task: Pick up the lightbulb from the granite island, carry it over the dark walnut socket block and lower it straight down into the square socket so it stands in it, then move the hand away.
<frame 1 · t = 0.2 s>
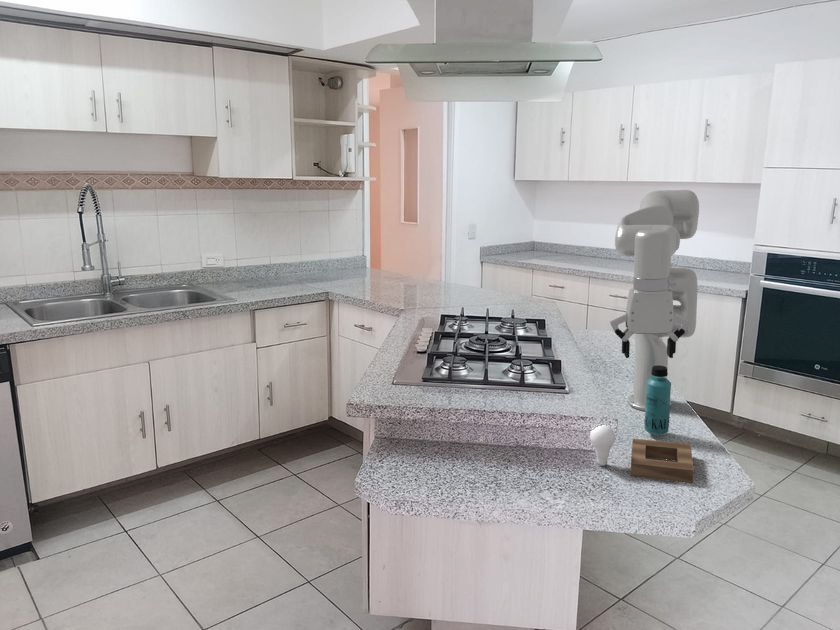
hand: (648, 356, 148), 30 cm above the worktop, tool pointing down, fingers open, 9 cm apart
beverage bottle: (656, 435, 176), on the worktop
lightbulb: (602, 466, 161), on the worktop
socket block: (660, 466, 159), on the worktop
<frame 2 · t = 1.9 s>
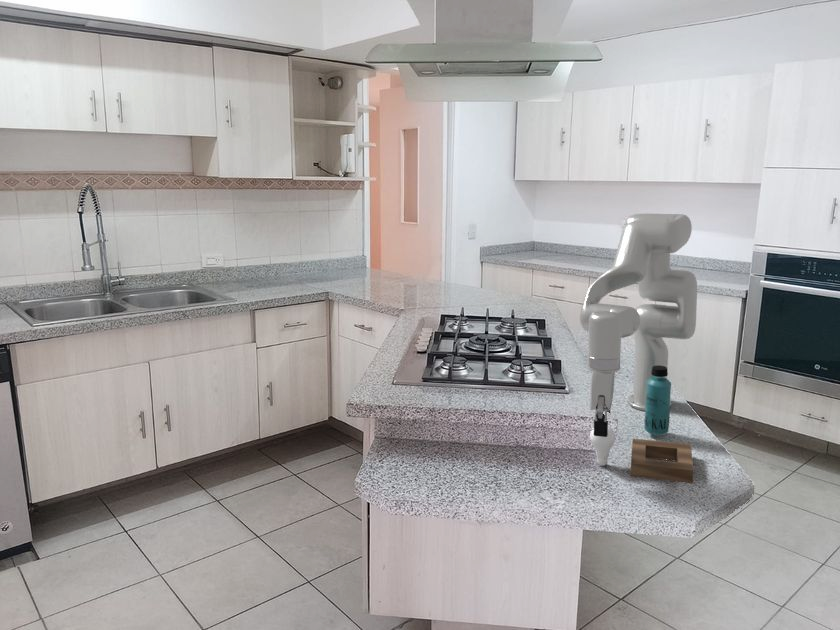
hand: (602, 427, 158), 11 cm above the worktop, tool pointing down, fingers open, 9 cm apart
nothing on the worktop moved.
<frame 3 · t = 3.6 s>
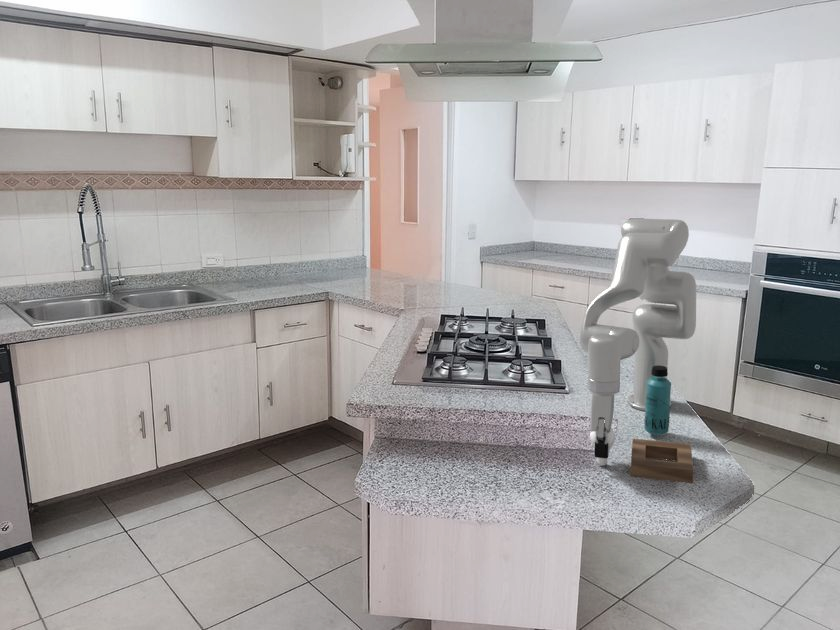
hand: (602, 450, 160), 4 cm above the worktop, tool pointing down, fingers closed on lightbulb, 5 cm apart
lightbulb: (601, 466, 161), on the worktop, touching gripper
everything else where it was.
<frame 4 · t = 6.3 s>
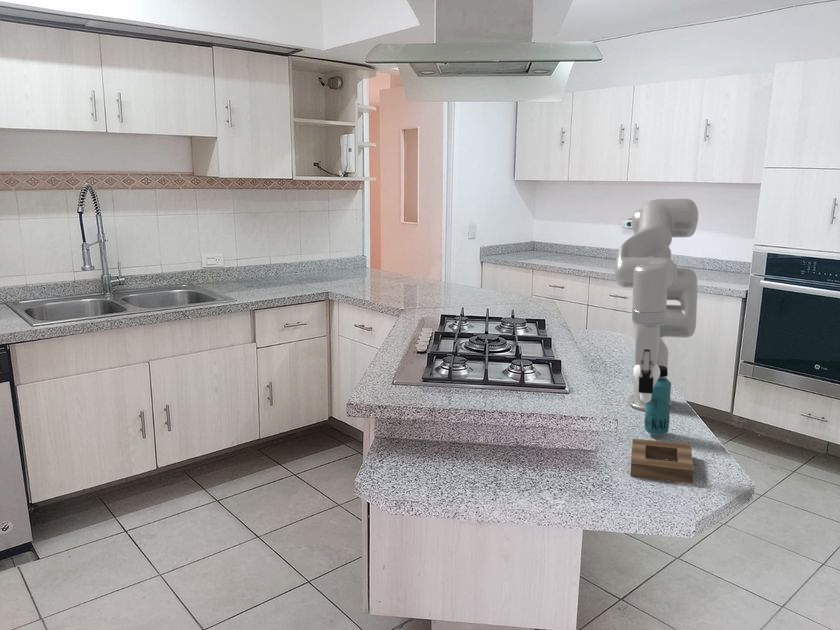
hand: (646, 387, 154), 21 cm above the worktop, tool pointing down, fingers closed on lightbulb, 5 cm apart
lightbulb: (645, 403, 155), point 17 cm above the worktop, touching gripper
everything else where it was.
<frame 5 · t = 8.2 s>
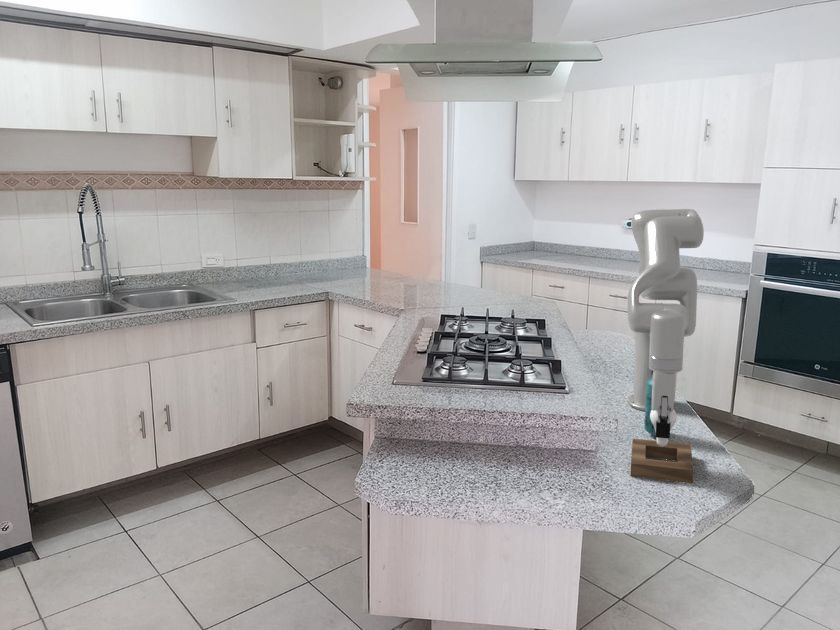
hand: (662, 431, 156), 10 cm above the worktop, tool pointing down, fingers closed on lightbulb, 5 cm apart
lightbulb: (661, 446, 157), point 5 cm above the worktop, touching gripper
everything else where it was.
when the fingers open (5 cm above the worktop, at t = 9.5 s): lightbulb drops 1 cm, resting in socket block.
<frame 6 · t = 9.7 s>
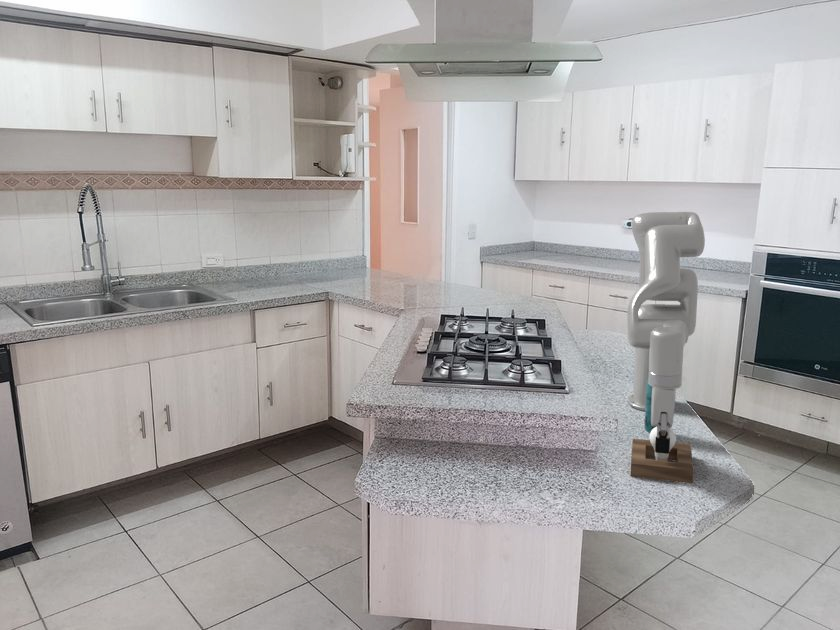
hand: (661, 444, 157), 6 cm above the worktop, tool pointing down, fingers open, 8 cm apart
lightbulb: (661, 466, 159), resting in socket block
everything else where it was.
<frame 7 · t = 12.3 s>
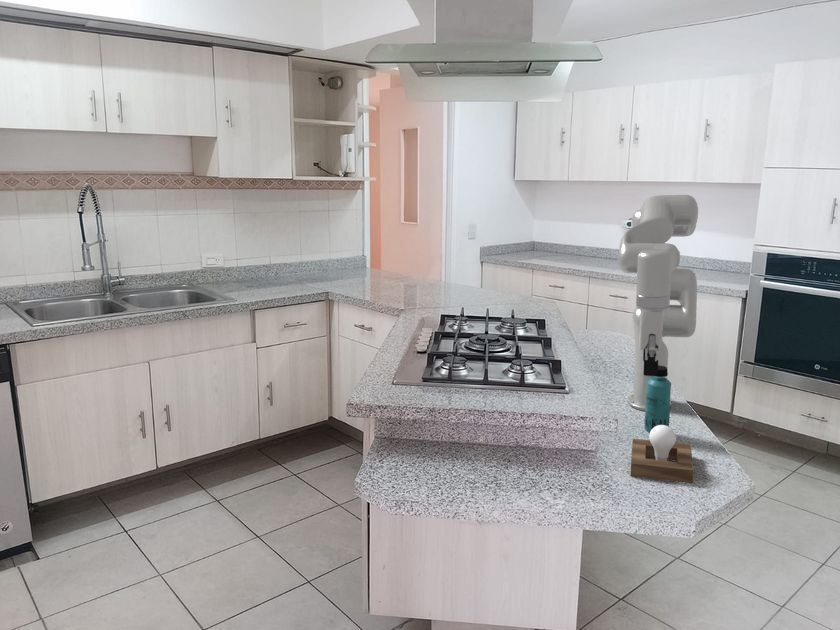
hand: (650, 368, 156), 25 cm above the worktop, tool pointing down, fingers open, 9 cm apart
nothing on the worktop moved.
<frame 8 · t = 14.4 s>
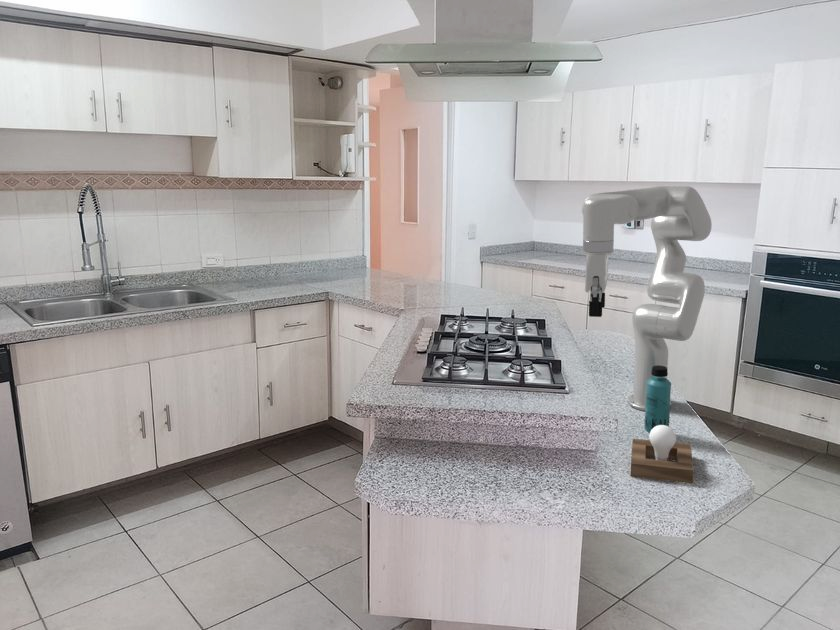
hand: (597, 311, 166), 36 cm above the worktop, tool pointing down, fingers open, 9 cm apart
nothing on the worktop moved.
at the end: lightbulb 0.1 cm off-centre on the socket block, point 0.0 cm above the socket block's base; lightbulb tilted 1°; the gripper is holding nothing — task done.
